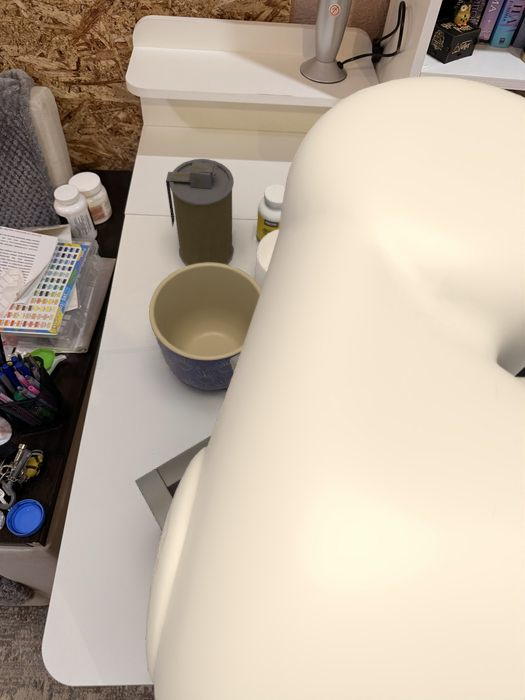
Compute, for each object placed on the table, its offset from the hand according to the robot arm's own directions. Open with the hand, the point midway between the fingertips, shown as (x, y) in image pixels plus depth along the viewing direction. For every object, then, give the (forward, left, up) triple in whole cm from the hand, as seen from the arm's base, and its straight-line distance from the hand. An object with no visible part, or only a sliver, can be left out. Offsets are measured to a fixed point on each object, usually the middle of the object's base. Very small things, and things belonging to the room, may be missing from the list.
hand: (302, 502), depth 36 cm
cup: (+37, -29, -40) cm, 61 cm away
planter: (+33, -11, -40) cm, 53 cm away
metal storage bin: (+6, +1, -40) cm, 40 cm away
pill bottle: (+50, -35, -40) cm, 73 cm away
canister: (+54, -22, -40) cm, 71 cm away
